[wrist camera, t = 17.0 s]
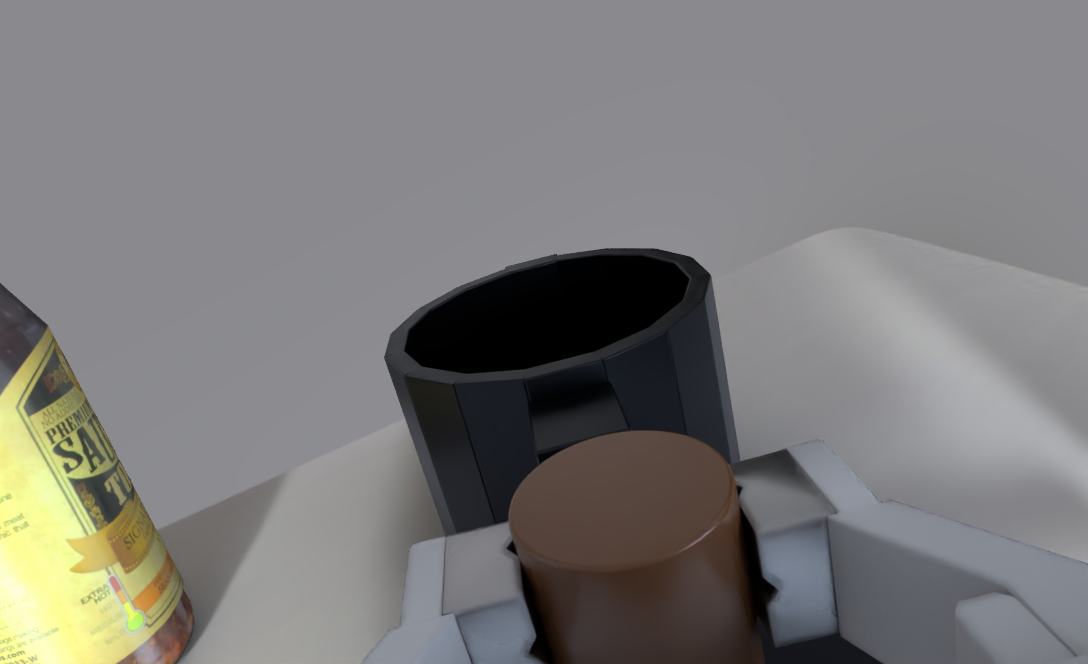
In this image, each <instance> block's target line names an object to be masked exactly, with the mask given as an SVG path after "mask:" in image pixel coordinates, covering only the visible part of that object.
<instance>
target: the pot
mask: <svg viewBox="0 0 1088 664" xmlns="http://www.w3.org/2000/svg"><path fill="white" fill-rule="evenodd" d="M384 358H385V361H386V364H387V367H388V370H389V373H390V376H391V379H392V382H393V384H394V387H395V390H396V393H397V396H398V399H399V402H400V405H401V408H402V410H403V413H404V416H405V419H406V422H407V425H408V428H409V431H410V434H411V436H412V439H413V442H414V445H415V448H416V451H417V454H418V457H419V460H420V462H421V465H422V468H423V471H424V474H425V477H426V480H427V483H428V486H429V488H430V491H431V494H432V497H433V500H434V503H435V506H436V509H437V511H438V514H439V517H440V520H441V523H442V526H443V529H444V532H445V535H446V536H448V535H450V534H454V533H459V532H463V531H467V530H471V529H476V528H480V527H484V526H488V525H493V524H497V523H501V522H505V521H508V519H509V509H510V504H511V501H512V498H513V496H514V493H515V492H516V490H517V488H518V487H519V485H520V484H521V482H522V481H523V480H524V479H525V478H526V476H527V475H528V474H529V473H530V472H531V471H533V470H534V469H535V468H536V467H537V466H538V465H540V464H541V463H542V462H543V461H545V460H546V459H548V458H550V457H551V456H553V455H554V454H556V453H558V452H560V451H562V450H563V449H566V448H568V447H570V446H572V445H574V444H577V443H580V442H582V441H585V440H588V439H591V438H595V437H598V436H602V435H607V434H611V433H617V432H624V431H635V430H657V431H667V432H674V433H679V434H683V435H687V436H690V437H693V438H696V439H698V440H700V441H702V442H704V443H706V444H708V445H709V446H711V447H712V448H714V449H715V450H716V451H718V452H719V453H720V454H721V455H722V456H723V458H724V459H725V460H726V461H727V463H728V464H729V465H730V464H733V463H737V462H740V456H739V450H738V444H737V437H736V431H735V425H734V418H733V412H732V406H731V399H730V393H729V386H728V380H727V374H726V367H725V361H724V355H723V348H722V342H721V336H720V329H719V323H718V317H717V310H716V304H715V297H714V291H713V285H712V279H711V275H710V274H709V273H708V272H707V271H706V270H705V269H704V268H703V267H702V266H701V265H700V264H699V263H698V262H696V261H695V260H694V259H693V258H691V257H689V256H685V255H681V254H676V253H672V252H668V251H664V250H659V249H635V248H630V249H627V248H621V249H620V248H617V249H616V248H614V249H613V248H611V249H608V248H606V249H599V250H593V251H585V252H577V253H570V254H563V255H558V256H557V254H554V255H551V256H547V257H543V258H539V259H535V260H531V261H527V262H523V263H519V264H515V265H511V266H507V267H505V269H504V270H501V271H498V272H496V273H493V274H490V275H488V276H485V277H483V278H480V279H477V280H475V281H472V282H470V283H467V284H464V285H462V286H460V287H457V288H455V289H453V290H452V291H450V292H448V293H446V294H445V295H443V296H441V297H439V298H437V299H435V300H433V301H432V302H430V303H428V304H426V305H425V306H423V307H421V308H420V309H418V310H416V311H415V312H414V313H413V314H412V315H411V316H410V317H409V318H408V319H407V320H405V321H404V322H403V323H402V324H401V325H400V326H399V327H398V328H397V329H396V330H394V331H393V332H392V333H391V335H390V339H389V342H388V346H387V349H386V353H385V356H384Z"/></svg>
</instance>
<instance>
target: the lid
mask: <svg viewBox="0 0 1088 664" xmlns="http://www.w3.org/2000/svg"><path fill="white" fill-rule="evenodd" d="M508 523H509V528H510V532H511V535H512V539H513V542H514V545H515V548H516V552H517V555H518V557H519V560H520V563H521V566H522V569H523V573H524V576H525V579H526V582H527V585H528V589H529V592H530V595H531V598H532V602H533V607H534V611H535V614H536V617H537V620H538V623H539V626H540V628H541V631H542V634H543V638H544V641H545V644H546V647H547V651H548V654H549V657H550V661H551V664H883V663H881V662H880V661H878V660H877V659H875V658H874V657H872V656H871V655H869V654H867V653H866V652H864V651H863V650H861V649H860V648H858V647H856V646H855V645H853V644H852V643H850V642H849V641H847V640H845V639H844V638H842V637H841V636H840V633H838V634H834V635H830V636H825V637H821V638H816V639H812V640H808V641H803V642H799V643H795V644H790V645H786V646H782V647H777V648H774V646H773V644H772V642H771V640H770V638H769V636H768V634H767V632H766V630H765V629H764V627H763V625H762V623H761V621H760V619H759V617H758V615H757V611H756V605H755V598H754V592H753V586H752V580H751V574H750V568H749V561H748V555H747V549H746V543H745V537H744V531H743V524H742V518H741V512H740V506H739V500H738V494H737V487H736V482H735V477H734V474H733V471H732V469H731V467H730V465H729V464H728V463H727V461H726V460H725V459H724V458H723V456H722V455H721V454H720V453H719V452H718V451H716V450H715V449H714V448H712V447H711V446H709V445H708V444H706V443H704V442H702V441H700V440H698V439H696V438H693V437H690V436H687V435H683V434H679V433H674V432H667V431H657V430H635V431H624V432H617V433H611V434H607V435H602V436H598V437H595V438H591V439H588V440H585V441H582V442H580V443H577V444H574V445H572V446H570V447H568V448H566V449H563V450H562V451H560V452H558V453H556V454H554V455H553V456H551V457H550V458H548V459H546V460H545V461H543V462H542V463H541V464H540V465H538V466H537V467H536V468H535V469H534V470H533V471H531V472H530V473H529V474H528V475H527V476H526V478H525V479H524V480H523V481H522V482H521V484H520V485H519V487H518V488H517V490H516V492H515V493H514V496H513V498H512V501H511V504H510V509H509V519H508Z"/></svg>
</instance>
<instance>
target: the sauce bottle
mask: <svg viewBox="0 0 1088 664" xmlns="http://www.w3.org/2000/svg"><path fill="white" fill-rule="evenodd" d="M193 625H194V617H193V614H192V607H191V604H190V600H189V598H188V597H187V595H186V593H185V592H184V589H183V581H182V578H181V576H180V574H179V572H178V570H177V568H176V566H175V564H174V563H173V561H172V559H171V557H170V555H169V553H168V551H167V550H166V548H165V546H164V544H163V542H162V540H161V538H160V536H159V534H158V532H157V530H156V528H155V527H154V525H153V523H152V521H151V519H150V517H149V515H148V513H147V511H146V510H145V508H144V506H143V504H142V502H141V500H140V498H139V497H138V494H137V493H136V491H135V489H134V487H133V484H132V483H131V480H130V478H129V477H128V475H127V473H126V471H125V470H124V468H123V466H122V464H121V462H120V461H119V459H118V457H117V455H116V453H115V450H114V449H113V447H112V445H111V443H110V440H109V438H108V437H107V435H106V433H105V431H104V429H103V428H102V426H101V424H100V422H99V421H98V418H97V416H96V415H95V413H94V411H93V409H92V407H91V406H90V404H89V402H88V400H87V398H86V396H85V394H84V392H83V391H82V388H81V387H80V385H79V383H78V381H77V379H76V377H75V375H74V373H73V371H72V370H71V368H70V366H69V364H68V362H67V360H66V358H65V356H64V354H63V352H62V351H61V349H60V347H59V346H58V344H57V342H56V340H55V338H54V336H53V334H52V332H51V330H50V329H49V327H48V325H47V324H46V323H45V322H43V321H42V320H41V319H40V318H39V317H38V316H37V315H36V314H34V313H33V312H32V311H31V310H30V309H29V308H27V306H25V305H24V304H23V303H22V302H21V301H20V300H19V299H17V298H16V297H15V296H14V295H13V294H12V293H11V292H10V291H8V290H7V289H6V288H5V287H4V286H3V285H2V284H1V283H0V664H175V662H176V661H177V660H178V658H179V657H180V656H181V654H182V653H183V651H184V649H185V647H186V645H187V643H188V642H189V640H190V637H191V634H192V630H193Z"/></svg>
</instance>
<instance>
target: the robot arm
mask: <svg viewBox="0 0 1088 664" xmlns="http://www.w3.org/2000/svg"><path fill="white" fill-rule="evenodd" d="M730 467H731V469H732V471H733V474H734V477H735V482H736V487H737V494H738V500H739V506H740V512H741V518H742V524H743V531H744V537H745V543H746V549H747V555H748V561H749V568H750V574H751V580H752V586H753V592H754V598H755V605H756V611H757V615H758V617H759V619H760V621H761V623H762V625H763V627H764V629H765V630H766V632H767V634H768V636H769V638H770V640H771V642H772V644H773V646H774V648H777V647H782V646H786V645H790V644H795V643H799V642H803V641H808V640H812V639H816V638H821V637H825V636H830V635H834V634H838V633H840V636H841V637H842V638H844V639H845V640H847V641H849V642H850V643H852V644H853V645H855V646H856V647H858V648H860V649H861V650H863V651H864V652H866V653H867V654H869V655H871V656H872V657H874V658H875V659H877V660H878V661H880V662H881V663H883V664H1088V564H1087V563H1083V562H1080V561H1077V560H1074V559H1071V558H1068V557H1065V556H1062V555H1059V554H1056V553H1053V552H1050V551H1047V550H1043V549H1040V548H1037V547H1034V546H1031V545H1028V544H1025V543H1022V542H1019V541H1016V540H1013V539H1010V538H1006V537H1003V536H1000V535H997V534H994V533H991V532H988V531H985V530H982V529H979V528H976V527H973V526H970V525H966V524H963V523H960V522H957V521H954V520H951V519H948V518H945V517H942V516H939V515H936V514H933V513H930V512H926V511H923V510H920V509H917V508H914V507H911V506H908V505H905V504H902V503H899V502H896V501H893V500H888V501H884V502H879V501H878V500H877V499H876V497H875V496H874V495H873V494H872V493H871V492H870V491H869V490H868V489H867V488H866V487H865V486H864V484H863V483H862V482H861V481H860V480H859V479H858V478H857V477H856V476H855V475H854V474H853V473H852V471H851V470H850V469H849V468H848V467H847V466H846V465H845V464H844V463H843V462H842V461H841V459H840V458H839V457H838V456H837V455H836V454H835V453H834V452H833V451H832V450H831V449H830V448H829V446H828V445H827V444H826V443H825V442H824V441H822V440H819V439H816V440H812V441H809V442H805V443H802V444H799V445H795V446H792V447H788V448H785V449H783V450H781V451H777V452H774V453H770V454H766V455H763V456H759V457H755V458H752V459H748V460H744V461H741V462H737V463H733V464H730ZM360 664H551V661H550V657H549V654H548V651H547V647H546V644H545V641H544V638H543V634H542V631H541V628H540V626H539V623H538V620H537V617H536V614H535V611H534V607H533V602H532V598H531V595H530V592H529V589H528V585H527V582H526V579H525V576H524V573H523V569H522V566H521V563H520V560H519V557H518V555H517V552H516V548H515V545H514V542H513V539H512V535H511V532H510V528H509V523H508V521H505V522H501V523H497V524H493V525H488V526H484V527H480V528H476V529H471V530H467V531H463V532H459V533H454V534H450V535H448V536H442V537H438V538H434V539H430V540H426V541H423V542H419V543H415V544H413V545H412V547H411V548H410V550H409V554H408V562H407V570H406V578H405V586H404V594H403V602H402V610H401V618H400V626H399V627H397V628H393V629H390V630H388V632H387V633H386V634H385V635H384V636H383V637H382V639H381V640H380V641H379V642H378V643H377V644H376V646H375V647H374V648H373V649H372V650H371V651H370V653H369V654H368V655H367V656H366V657H365V659H364V660H363V661H362V662H361V663H360Z"/></svg>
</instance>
